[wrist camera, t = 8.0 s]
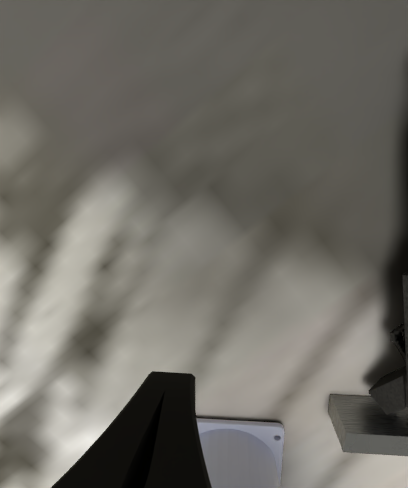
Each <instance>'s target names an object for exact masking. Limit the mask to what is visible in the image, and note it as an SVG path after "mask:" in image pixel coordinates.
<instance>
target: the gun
mask: <svg viewBox="0 0 408 488" xmlns="http://www.w3.org/2000/svg"><path fill="white" fill-rule="evenodd" d="M402 278H403V301H404V323H403V324H401V325H400V326H397V327H396V328H395V329H394V330H393V331H392V332H390V336H391V341H393V342H394V344H395V345H397V347H398V348H399V351H400V352H401V355H403V359H405V363H406V366H404V367H402V368H400V369H399V370H396V371H394V372H392V373H390V374H387V375H386V376H384V377H383V378H381V379H380V380H379V381H378V382H377V383H376V384H375V385H374V386H373V387H372V388H371V389H370V390H369V394H371V396H372V397H373V398H374V399H375V401H376V403H378V405H379V406H380V407H381V408H382V410H384V412H385V413H386V415H388V414H389V415H390V414H392V413H394V412H397V411H399V410H400V411H401V409H402V410H403V409H405V408H406V407H408V271H407V272H406V273H404V274H403V275H402ZM404 330H405V340H404V336H402V332H403V331H404Z"/></svg>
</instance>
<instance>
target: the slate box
mask: <svg viewBox="0 0 408 488" xmlns="http://www.w3.org/2000/svg"><path fill="white" fill-rule="evenodd" d="M328 413H329V416H330V418H331V421H332V424H333V426H334V429H335V431H336V434H337V437H338V439H339V442H340V444H341V447H342V450H343V452H350V453H366V454H382V455H398V456H408V407H406V408H405V409H403V410H402V409H401V411H400V410H399V411H397V412H394V413H392V414H390V415H389V414H388V415H386V413H385V412H384V410H382V408H381V407H380V406H379V405H378V403H376V401H375V399H374V398H373V397H372V396H352V395H331V394H330V400H329V407H328Z"/></svg>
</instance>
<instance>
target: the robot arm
mask: <svg viewBox="0 0 408 488" xmlns="http://www.w3.org/2000/svg"><path fill="white" fill-rule="evenodd" d="M275 435H278V436H275ZM284 435H285V431H284V426H283V425H282V424H280V423H272V422H254V421H237V420H219V419H201V418H196V412H195V377H194V376H193V375H192V374H186V373H170V372H153V371H152V372H151V373H150V374H149V375H148V377H147V378H146V379H145V381H144V382H143V384H142V385H141V386H140V388H139V389H138V390H137V392H136V393H135V394H134V396H133V397H132V398H131V400H130V401H129V402H128V403H127V405H126V406H125V407H124V408H123V410H122V411H121V412H120V413H119V415H118V416H117V417H116V418H115V419H114V421H113V422H112V423H111V424H110V425H109V427H108V428H107V429H106V430H105V431H104V432H103V434H102V435H101V436H100V437H99V438H98V439H97V440H96V441H95V442H94V444H93V445H92V446H91V447H90V448H89V449H88V450H87V451H86V452H85V454H84V455H83V456H82V457H81V458H80V459H79V460H78V461H77V462H76V463H75V464H74V465H73V466H72V467H71V468H70V469H69V470H68V471H67V472H66V473H65V474H64V475H63V476H62V477H61V478H60V479H59V480H58V481H57V482H56V483H55V484H54V485H53V486H52V487H51V488H280V480H281V469H282V458H283V446H284Z"/></svg>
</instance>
